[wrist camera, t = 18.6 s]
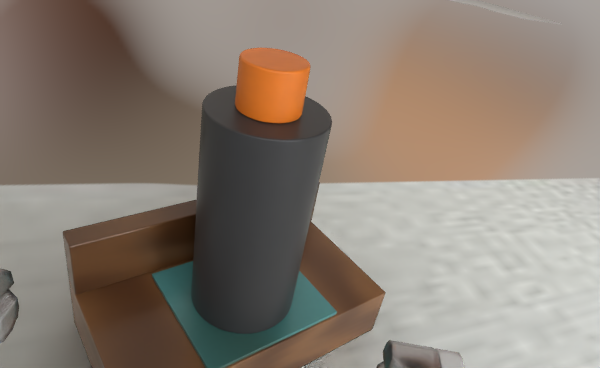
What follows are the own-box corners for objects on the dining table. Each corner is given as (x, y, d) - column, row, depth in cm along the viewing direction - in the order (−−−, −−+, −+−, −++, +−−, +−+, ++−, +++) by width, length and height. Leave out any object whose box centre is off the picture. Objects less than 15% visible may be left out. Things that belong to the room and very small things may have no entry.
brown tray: (293, 246, 32) (308, 172, 29) (372, 329, 27) (401, 250, 24) (74, 321, 24) (62, 230, 21) (127, 460, 19) (122, 367, 16)
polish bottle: (258, 249, 26) (292, 36, 20) (311, 309, 23) (371, 79, 17) (174, 277, 23) (181, 38, 17) (221, 351, 20) (252, 91, 14)
